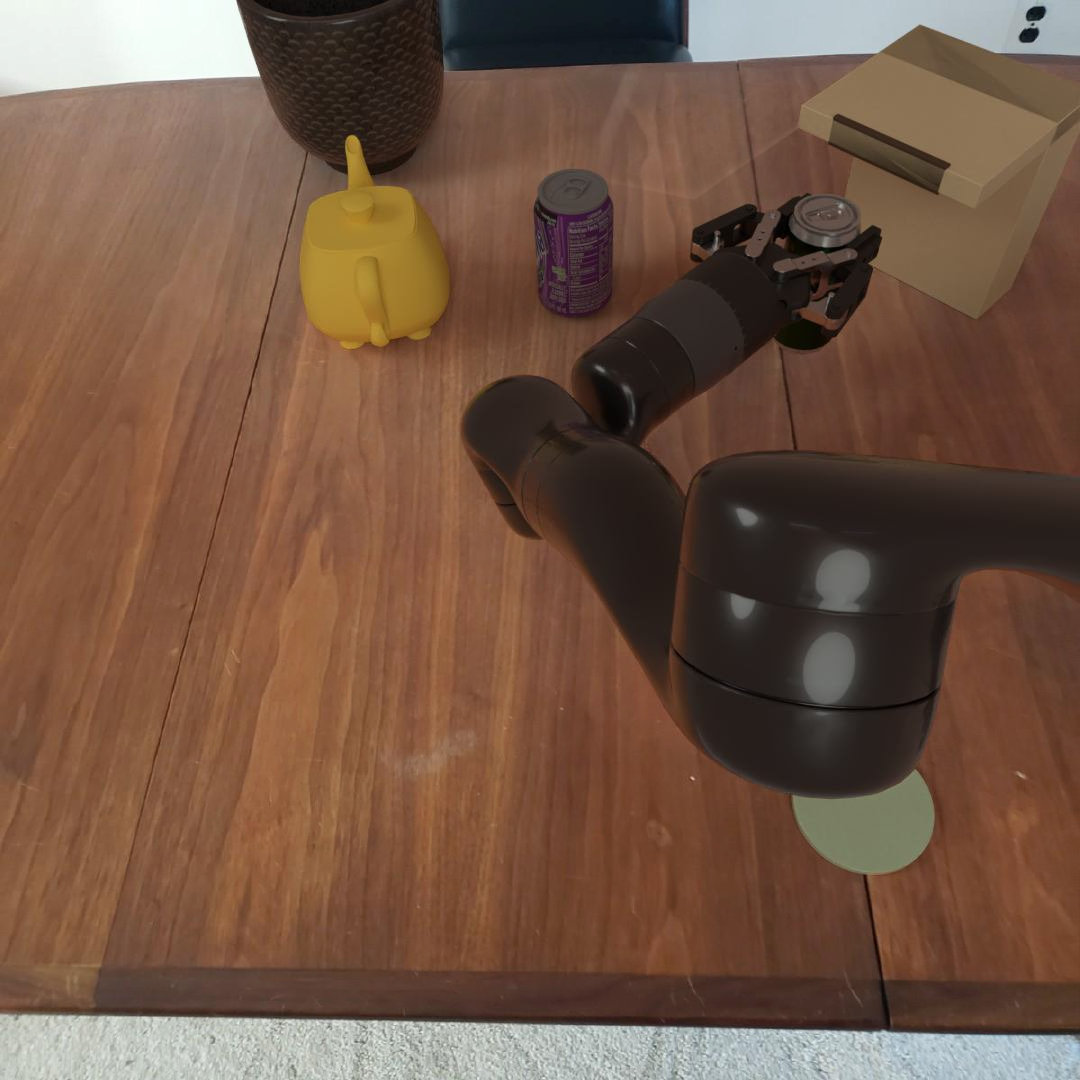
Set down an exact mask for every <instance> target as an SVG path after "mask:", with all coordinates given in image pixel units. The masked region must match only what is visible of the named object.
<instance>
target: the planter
mask: <svg viewBox="0 0 1080 1080" xmlns="http://www.w3.org/2000/svg"><path fill="white" fill-rule="evenodd" d="M235 1H236V5H237V10H238V13H239V16H240V19H241V22H242V25H243V29H244V32H245V36H246V38H247V42H248V45H249V48H250V51H251V53H252V56H253V60H254V62H255V65H256V68H257V72H258V74H259V77H260V79H261V82H262V86H263V88H264V91H265V94H266V96H267V99H268V102H269V104H270V106H271V108H272V110H273V112H274V114H275V117H276V118H277V120H278V122H279V123H280V125H281V127H282V128H283V129H284V131H285V133H286V134H287V135H288V136H289V137H290V138H291V140H293V141H294V143H296V145H298V146H299V147H300V148H302V149H303V150H304V151H306V152H307V153H309V154H310V155H312V156H314V157H316V158H318V159H320V160H323V161H324V162H325V163H326V164H327V165H328V166H329V167H330V168H332V169H333V170H336V171H338V172H339V173H342V174H346V175H348V164H347V156H346V150H345V142H346V139H347V137H348V136H350V135H354V136H356V137H357V138H358V140H359V142H360V144H361V148H362V152H363V156H364V160H365V163H366V166H367V168H368V171H369V173H370V175H371V176H373V175H379V174H384V173H387V172H390V171H392V170H394V169H397V168H398V167H400V166H402V165H403V164H404V163H406V162H407V161H409V159H410V158H411V157H412V156H413V155H414V153H415V152H416V151H417V148H418V145H419V144H420V143H421V142H422V141H423V140H424V139H425V138H426V136H427V135H428V134H429V132H430V131H431V130H432V128H433V127H434V125H435V122H436V121H437V118H438V116H439V114H440V112H441V107H442V101H443V95H444V90H445V62H444V50H443V49H444V47H443V35H442V34H443V33H442V22H441V10H440V3H439V0H235Z"/></svg>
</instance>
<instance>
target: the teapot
mask: <svg viewBox="0 0 1080 1080" xmlns="http://www.w3.org/2000/svg"><path fill="white" fill-rule="evenodd" d="M345 150H346V156H347V164H348V174H347V176H348V177H347V189H344V190H339V191H334V192H332V193H329V194H327V195H323V196H321V197H319V198H317V199H315V200H314V201H313V202H312V203H311V204H310V205H309V207H308V210H307V213H306V217H305V221H304V225H303V232H302V238H301V243H300V252H299V280H300V289H301V295H302V299H303V304H304V308H305V310H306V315H307V317H308V319H309V321H310V322H311V324H312V325H313V327H315V328H316V329H317V330H318V331H320V332H321V333H322V334H324V335H325V336H327V337H329V338H331V339H333V340H335V341H339V345H340V346H341V347H342V348H344V349H347V350H355V349H358V348H361V347H362V346H363V345H364V344H365V343H371V344H372V345H373V346H375V347H379V348H380V347H381V348H382V347H385V346H387V345H388V344H389V343H390V341H391V340H395V339H399V338H402V337H407V338H408V339H410V340H415V341H416V340H417V341H418V340H419V341H420V340H424V339H425V338H427V337H428V336H430V334H431V333H432V331H433V330H432V326H433V325H434V324H436V323H437V322H438V321H439V320H440V318H441V317H442V315H443V314H444V313H445V311H446V308H447V306H448V303H449V300H450V291H451V277H450V275H451V274H450V268H449V265H448V260H447V256H446V253H445V249H444V247H443V244H442V241H441V239H440V236H439V235H438V232H437V230H436V227H435V225H434V224H433V221H432V220H431V218H430V217H429V215H428V213H427V212H426V210H425V209H424V208H423V206H422V205H421V204H420V202H419V200H417V198H415V196H414V195H413V194H412V193H411V192H410V190H408V189H406V188H403V187H399V186H392V185H376V184H375V182H374V180H373V178H372V175H370V173H369V171H368V168H367V166H366V163H365V160H364V156H363V152H362V148H361V144H360V142H359V140H358V138H357V137H356V136H354V135H350V136H348V137H347V139H346V142H345Z"/></svg>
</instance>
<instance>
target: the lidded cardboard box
mask: <svg viewBox="0 0 1080 1080" xmlns="http://www.w3.org/2000/svg"><path fill="white" fill-rule="evenodd" d="M798 116H799V117H798V123H797V129H800V130H802V131H803V132H805V133H808V134H810V135H812V136H815V137H817V138H818V139H821V140H823V141H825V142H827V145H828V146H830V147H832V148H835V149H837V150H839V151H840V152H842V153H844V154H848V155H850V156H851V157H853V160H852V163H851V168H850V172H849V176H848V179H847V184H846V188H845V193H844V196H843V197H845V198H846V199H848V200H850V201H852V202H853V203H854V204H855V205H856V206H857V207H858V208H859V210H860V212H861V221H860V223H861V233H862V232H864V231H865V230H866V229H867V228H869V227H870V226H871V225H874V226H876V227H878V228H881V234H880V236H881V237H882V241H881V245H880V248H879V252H878V254H877V257H876V258H875V259H873V260H872V261H871V262H870V263H868V264H870V265H871V266H872V267H873V268H874V269H877V270H879V271H881V272H883V273H885V274H887V275H889V276H891V277H893V278H895V279H896V280H898V281H900V282H902V283H904V284H906V285H908V286H910V287H911V288H914V289H915V290H918V291H919V292H922V293H924V294H926V296H927V295H928V296H929V297H931V298H933V299H935V300H937V301H938V302H941V303H943V304H945V305H947V306H948V307H951V308H953V309H954V310H955V311H959V312H960V313H962V314H964V315H965V316H967V317H970V318H972V319H973V320H976V321H977V320H978V319H979V318H981V317H982V316H983V315H984V314H985V313H986V312H987V311H988V310H989V309H990V308H991V307H992V306H994V305H995V304H996V303H997V302H998V301H999V300H1000V299H1001V298H1002V297H1003V296H1004V295H1006V294H1007V293H1008V292H1009V291H1010V290H1012V288H1013V285H1014V283H1015V280H1016V278H1017V275H1018V274H1019V271H1020V269H1021V267H1022V264H1023V262H1024V260H1025V258H1026V255H1027V253H1028V251H1029V249H1030V246H1031V244H1032V242H1033V239H1034V237H1035V234H1036V232H1037V230H1038V228H1039V226H1040V224H1041V222H1042V218H1043V216H1044V215H1045V212H1046V210H1047V208H1048V205H1049V203H1050V201H1051V199H1052V196H1053V194H1054V192H1055V189H1056V187H1057V185H1058V182H1059V180H1060V178H1061V176H1062V173H1063V171H1064V168H1065V167H1066V164H1067V162H1068V160H1069V157H1070V156H1071V153H1072V150H1073V148H1074V146H1075V143H1076V141H1077V139H1078V137H1079V135H1080V84H1078V83H1076V82H1074V81H1071V80H1068V79H1065V78H1063V77H1060V76H1058V75H1055V74H1053V73H1050V72H1048V71H1044V70H1041V69H1039V68H1036V67H1034V66H1031V65H1029V64H1027V63H1023V62H1020V61H1019V60H1015V59H1013V58H1010V57H1008V56H1004V55H1002V54H1000V53H998V52H997V53H996V52H994V51H992V50H989V49H986V48H984V47H981V46H978V45H976V44H974V43H970V42H968V41H965V40H963V39H961V38H957V37H954V36H952V35H949V34H947V33H944V32H941V31H938V30H936V29H934V28H930V27H928V26H925V25H923V24H918V25H916V26H914V28H912V29H910V30H909V31H907V32H906V33H905V34H904V35H902V36H900V37H899V38H897V39H896V40H894V41H893V42H892V43H889V45H887V46H885V48H883V49H881V50H880V51H879V52H877V53H875V54H874V55H873V56H871V57H870V58H868V59H866V60H865V61H864V62H862V63H861V64H859V65H858V66H857V67H854V68H853V69H852V70H851V71H849V72H847V73H846V74H845V75H843V76H842V77H840V78H839V79H837V80H836V81H835V82H833V83H832V84H830V85H829V86H827V87H825V88H823V90H821V91H819V92H818V93H817V94H815V95H814V96H812V97H811V98H810V99H808V100H806V101H805V102H804V103H802V104H801V105H800V111H799V115H798ZM861 233H860V234H861Z"/></svg>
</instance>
